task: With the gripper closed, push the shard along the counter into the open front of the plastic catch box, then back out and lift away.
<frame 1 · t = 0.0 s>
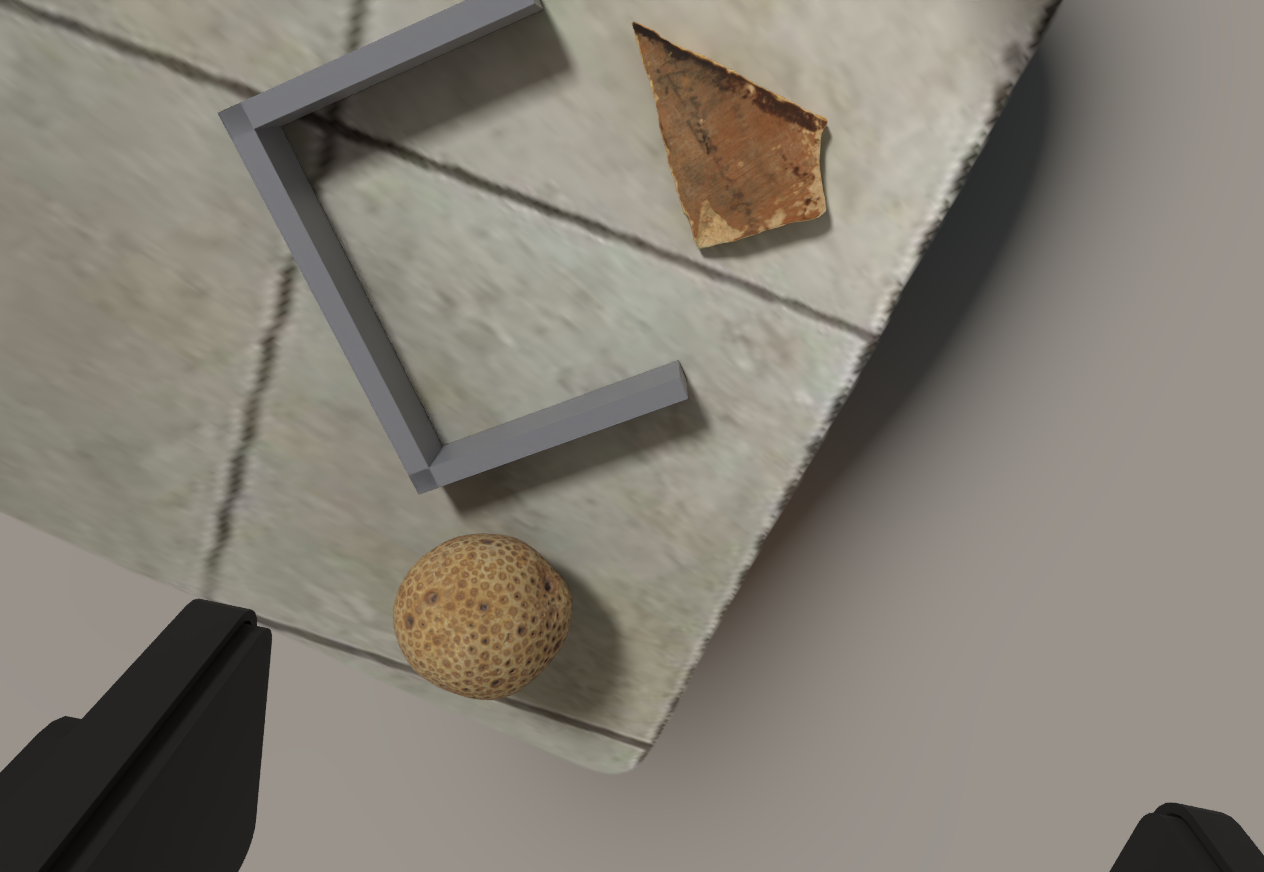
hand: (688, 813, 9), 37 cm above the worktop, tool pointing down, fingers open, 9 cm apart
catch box: (488, 248, 44), on the worktop
natural sponge: (502, 562, 51), on the worktop
shard: (710, 157, 43), on the worktop
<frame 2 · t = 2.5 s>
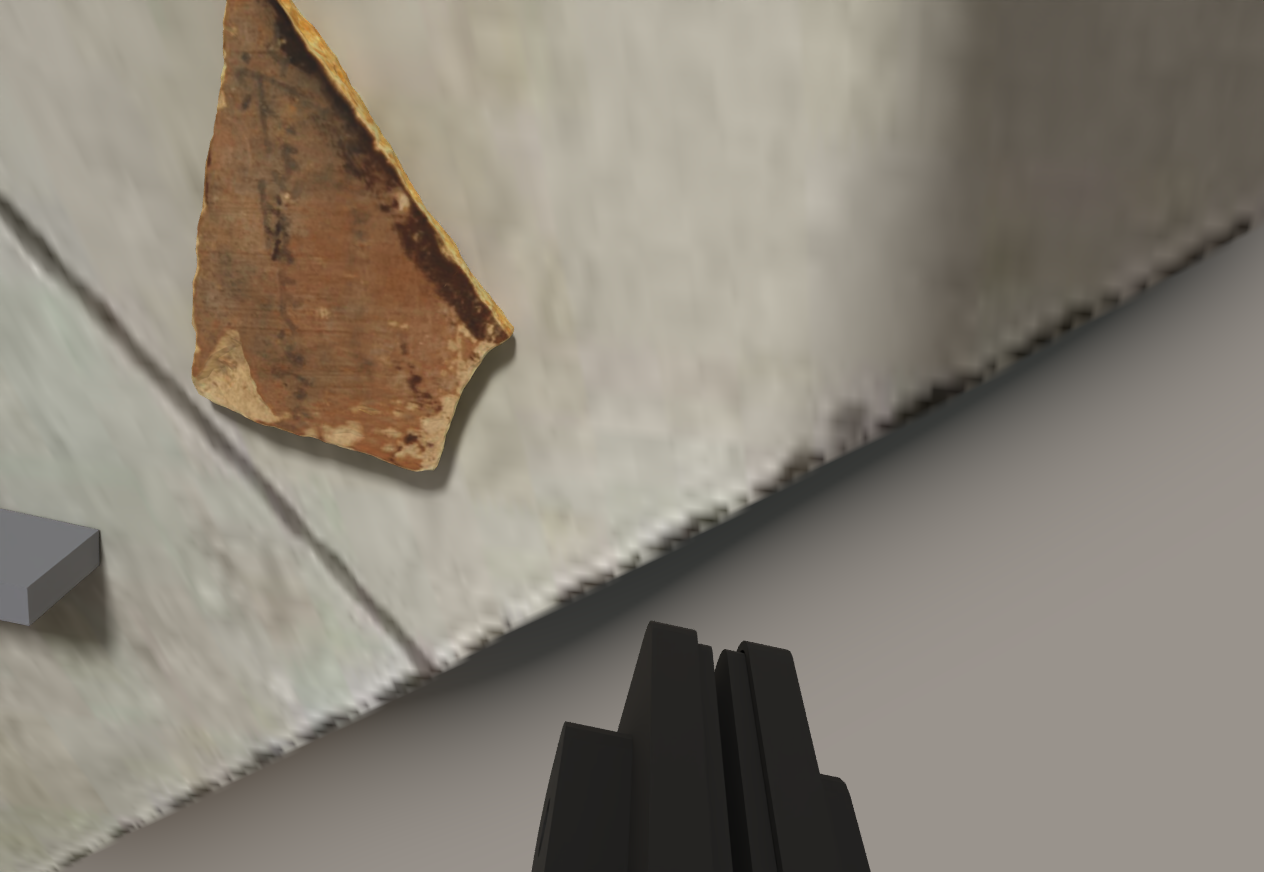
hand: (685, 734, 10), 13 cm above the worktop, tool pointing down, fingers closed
shard: (306, 258, 22), on the worktop
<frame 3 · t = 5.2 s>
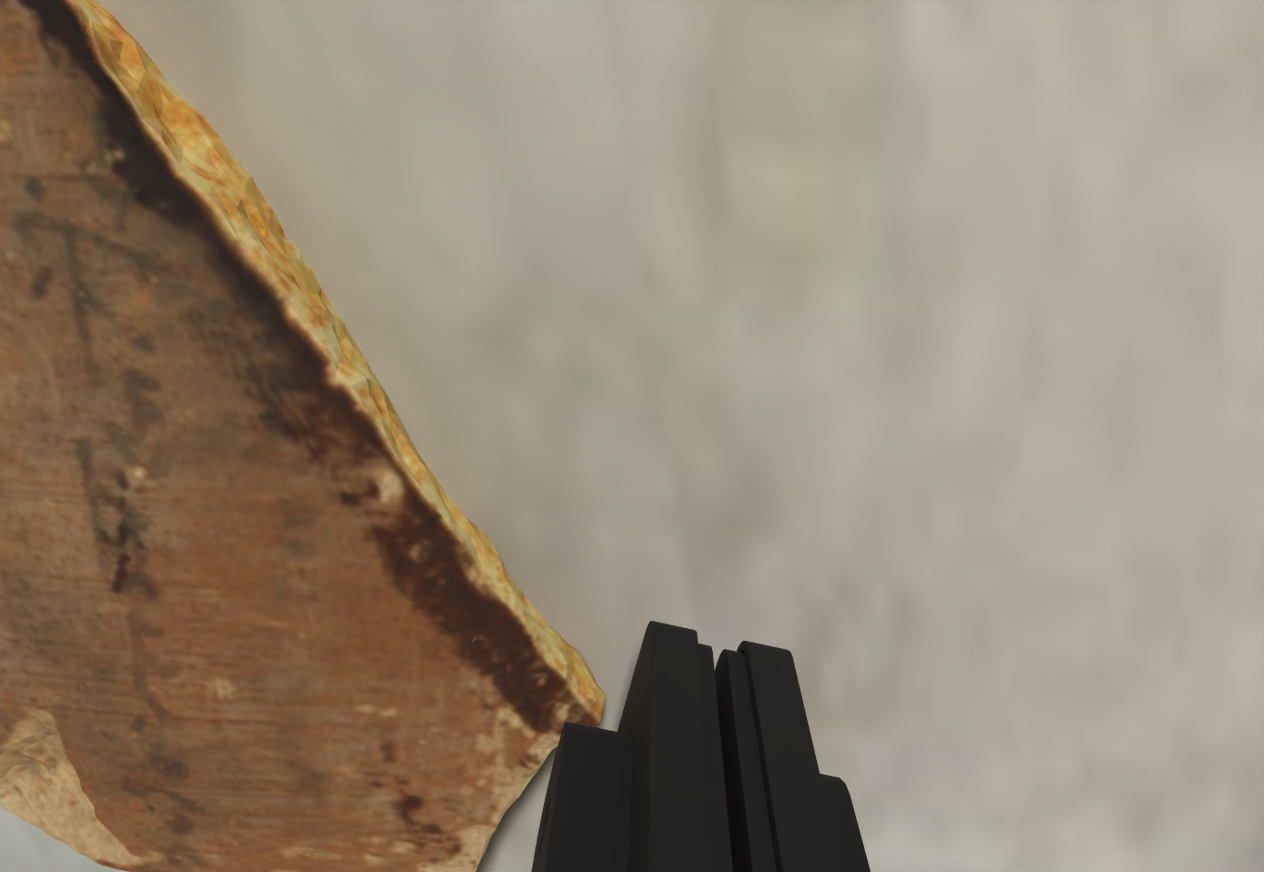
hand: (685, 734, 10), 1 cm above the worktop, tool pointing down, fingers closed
shard: (203, 539, 12), on the worktop, touching gripper
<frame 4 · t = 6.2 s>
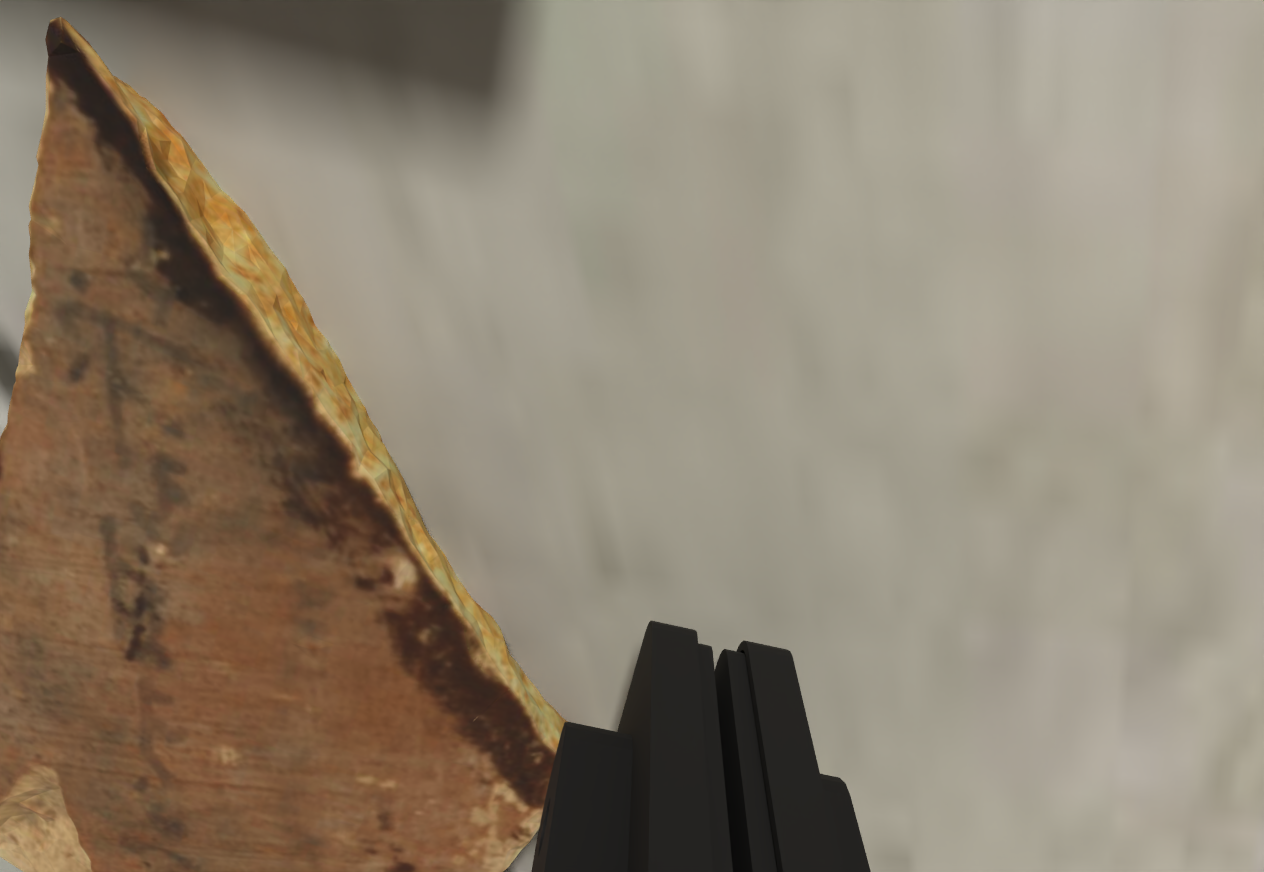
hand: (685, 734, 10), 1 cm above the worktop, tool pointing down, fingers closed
shard: (210, 598, 12), on the worktop, touching gripper
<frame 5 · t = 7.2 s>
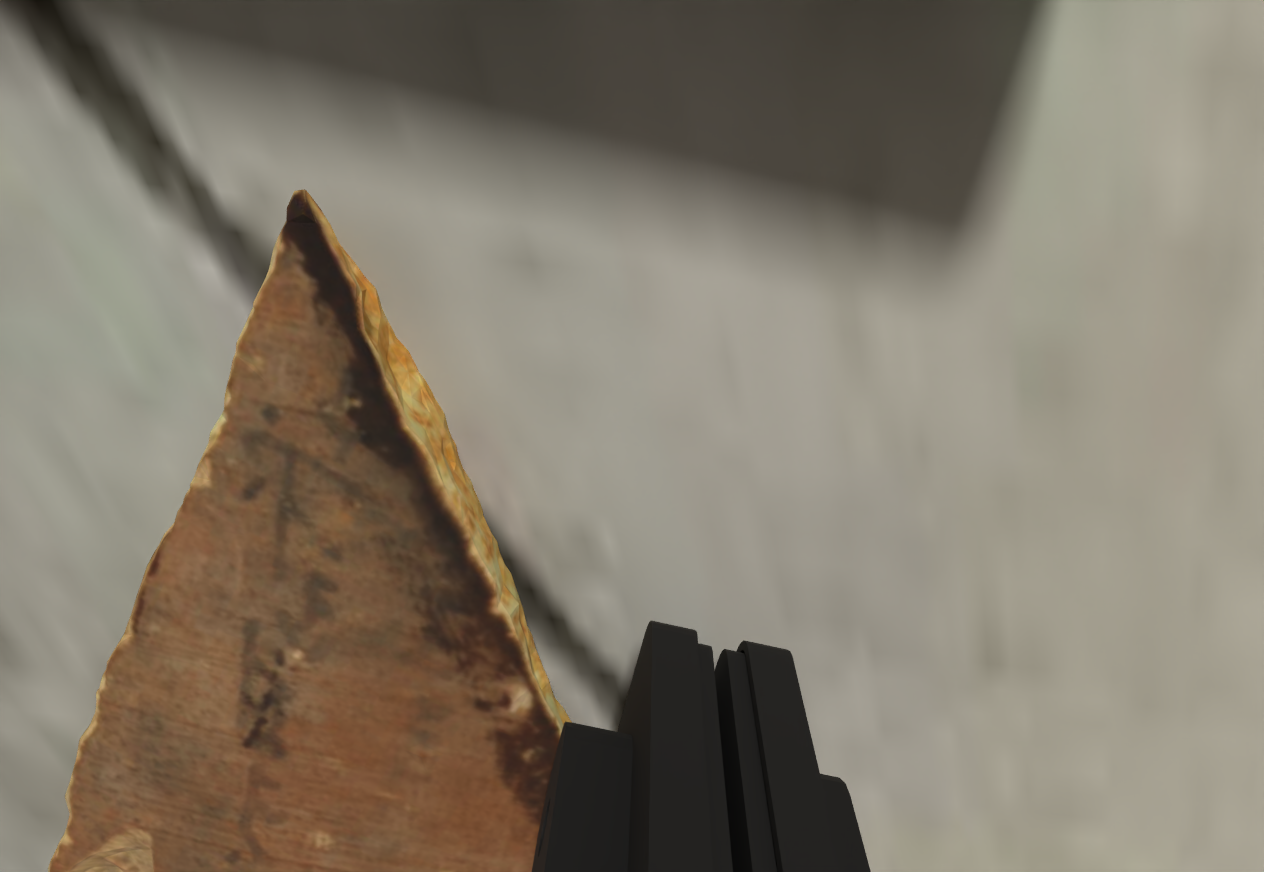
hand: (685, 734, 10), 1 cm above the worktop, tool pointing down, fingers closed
shard: (302, 674, 12), on the worktop, touching gripper
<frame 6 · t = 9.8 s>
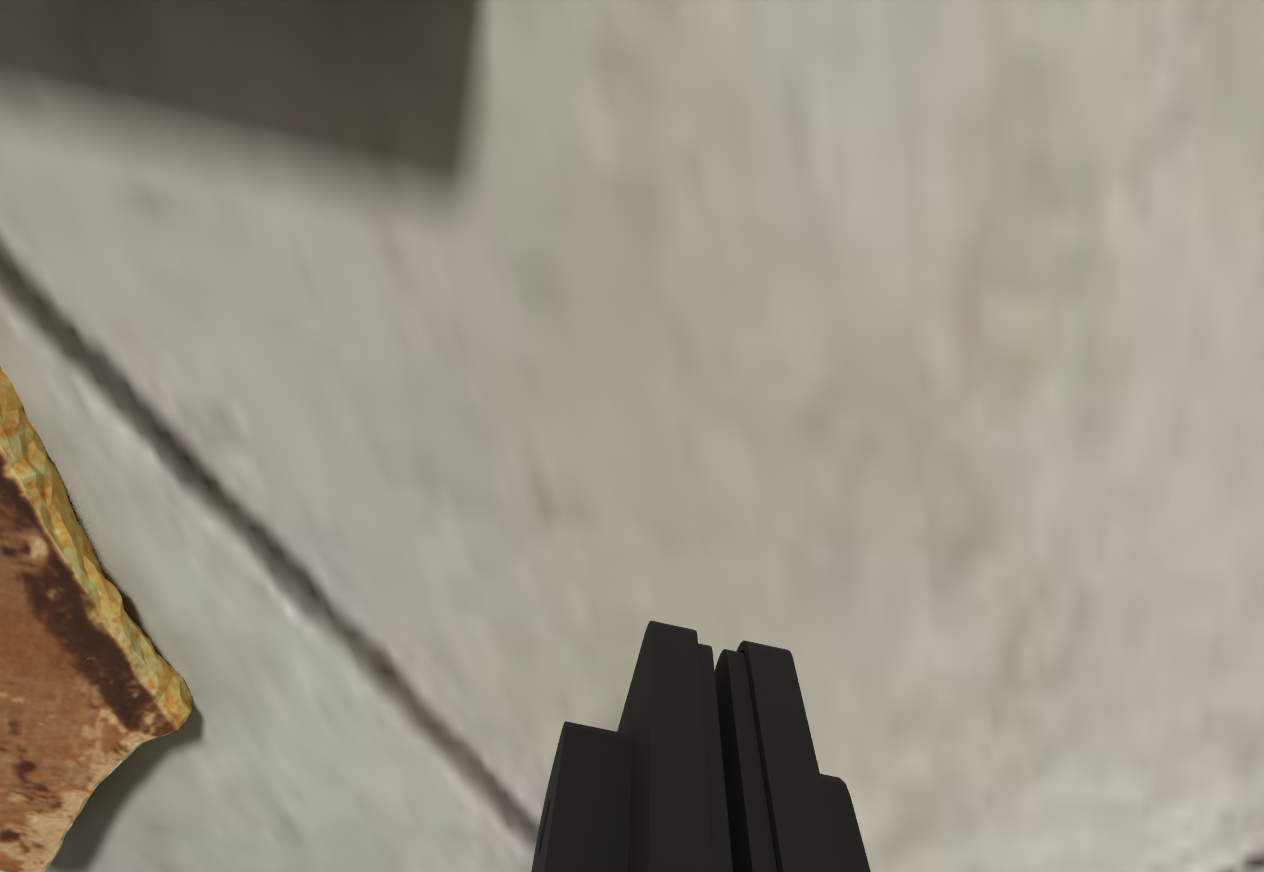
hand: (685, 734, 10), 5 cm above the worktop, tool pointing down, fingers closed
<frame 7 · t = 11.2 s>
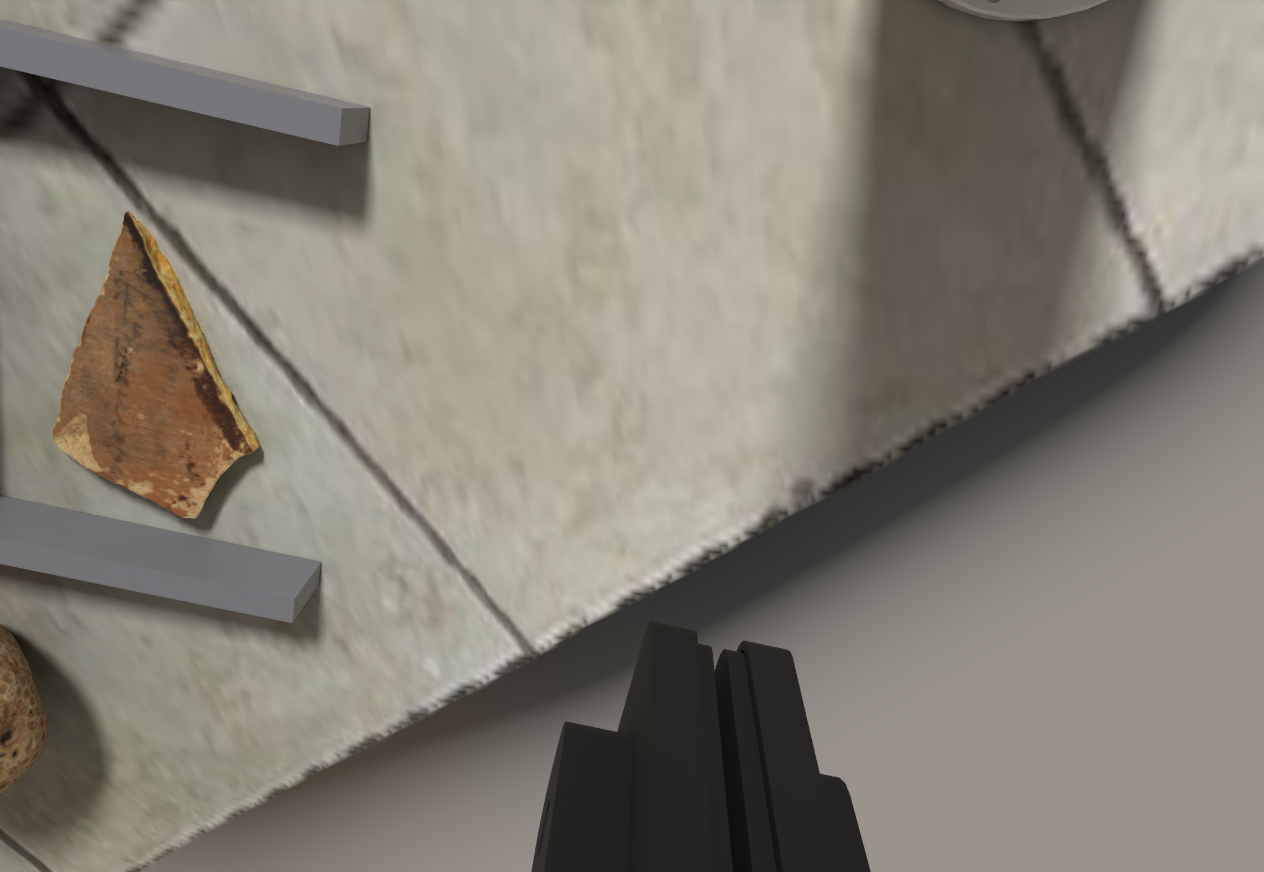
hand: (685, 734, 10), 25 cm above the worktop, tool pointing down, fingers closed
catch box: (167, 332, 35), on the worktop
natural sponge: (8, 644, 40), on the worktop
shard: (142, 375, 36), on the worktop
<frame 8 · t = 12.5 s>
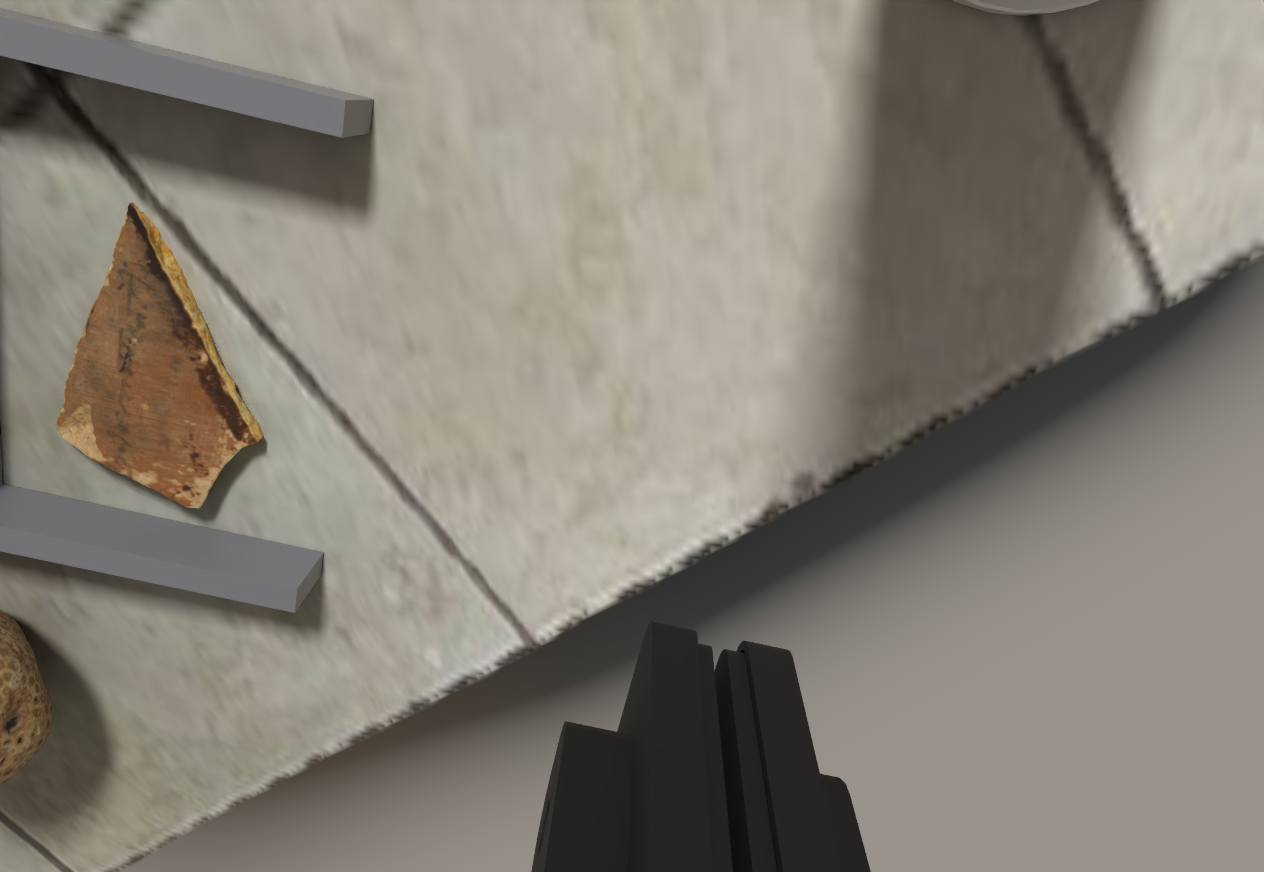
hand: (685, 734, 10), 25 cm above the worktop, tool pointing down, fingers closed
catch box: (170, 323, 35), on the worktop
natural sponge: (13, 632, 41), on the worktop
shard: (145, 366, 36), on the worktop
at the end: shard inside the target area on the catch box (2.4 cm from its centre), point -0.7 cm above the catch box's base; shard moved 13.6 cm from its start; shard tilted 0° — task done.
